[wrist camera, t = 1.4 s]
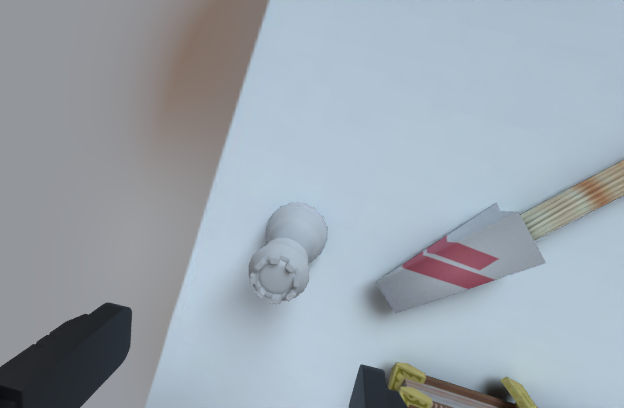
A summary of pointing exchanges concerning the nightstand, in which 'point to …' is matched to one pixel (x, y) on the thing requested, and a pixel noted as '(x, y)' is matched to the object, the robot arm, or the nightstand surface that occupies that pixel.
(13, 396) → the robot arm
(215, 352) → the nightstand surface
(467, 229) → the grey trowel
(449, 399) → the book
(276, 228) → the rook chess piece
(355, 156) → the nightstand surface
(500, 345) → the nightstand surface
